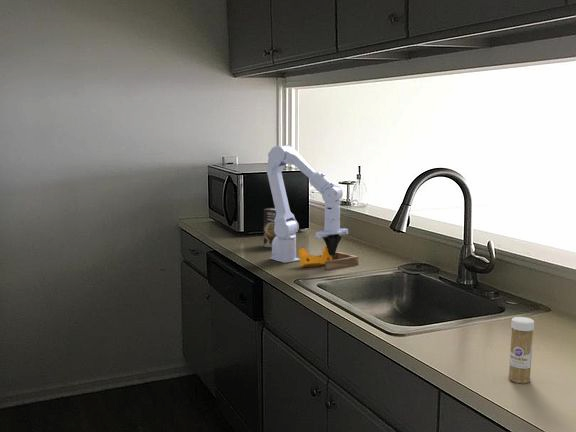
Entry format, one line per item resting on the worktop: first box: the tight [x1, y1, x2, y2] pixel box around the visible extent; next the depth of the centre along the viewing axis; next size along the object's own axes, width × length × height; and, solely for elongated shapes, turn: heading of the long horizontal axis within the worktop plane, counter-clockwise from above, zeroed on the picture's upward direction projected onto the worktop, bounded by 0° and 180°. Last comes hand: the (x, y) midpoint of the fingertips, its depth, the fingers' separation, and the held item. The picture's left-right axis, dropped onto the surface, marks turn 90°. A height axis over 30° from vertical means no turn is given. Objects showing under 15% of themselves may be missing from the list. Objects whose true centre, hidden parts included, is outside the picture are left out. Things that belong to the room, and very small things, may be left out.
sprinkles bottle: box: [508, 316, 535, 384], centre depth 143 cm, size 5×5×13 cm
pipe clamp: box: [297, 246, 332, 268], centre depth 251 cm, size 12×4×6 cm, turn 111°
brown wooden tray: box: [314, 251, 359, 271], centre depth 253 cm, size 11×16×3 cm
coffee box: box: [263, 207, 276, 248], centre depth 286 cm, size 9×6×16 cm
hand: (331, 254), depth 252 cm, fingers closed
